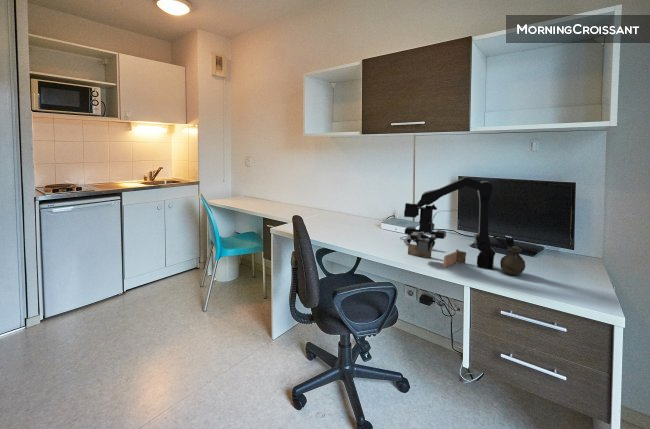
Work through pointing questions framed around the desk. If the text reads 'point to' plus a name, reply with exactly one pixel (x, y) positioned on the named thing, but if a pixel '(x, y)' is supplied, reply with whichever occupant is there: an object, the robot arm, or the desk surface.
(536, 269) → the desk surface
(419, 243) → the block
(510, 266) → the drawstring pouch
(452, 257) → the door
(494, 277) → the desk surface
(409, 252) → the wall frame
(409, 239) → the toy gun
